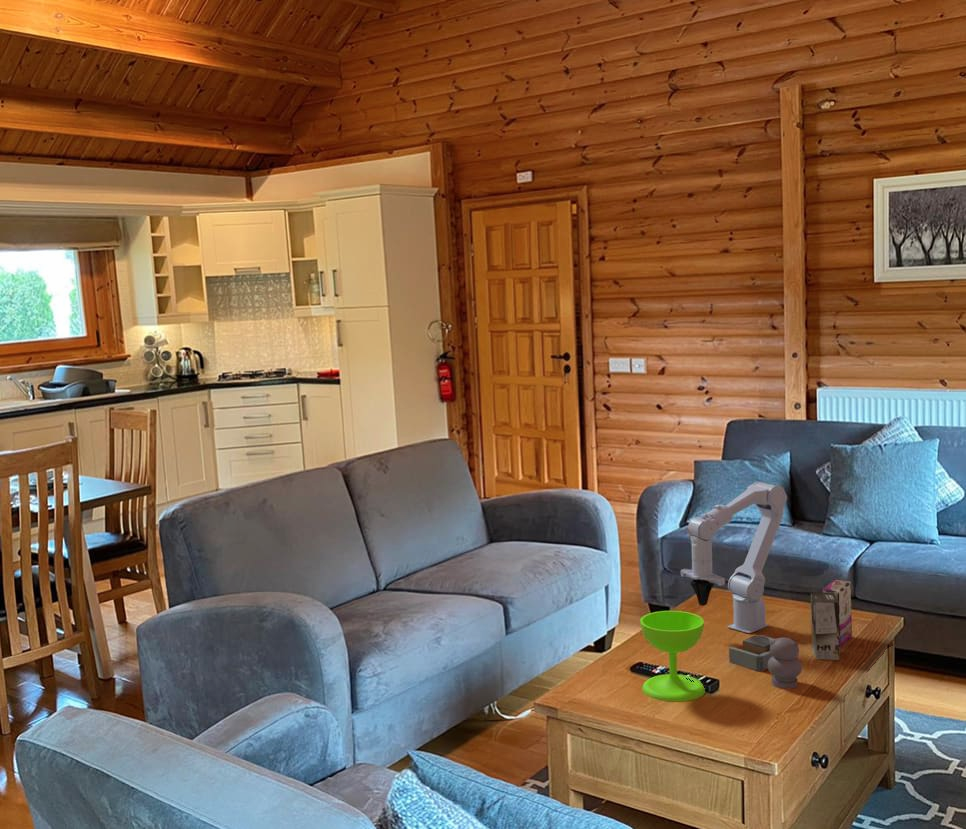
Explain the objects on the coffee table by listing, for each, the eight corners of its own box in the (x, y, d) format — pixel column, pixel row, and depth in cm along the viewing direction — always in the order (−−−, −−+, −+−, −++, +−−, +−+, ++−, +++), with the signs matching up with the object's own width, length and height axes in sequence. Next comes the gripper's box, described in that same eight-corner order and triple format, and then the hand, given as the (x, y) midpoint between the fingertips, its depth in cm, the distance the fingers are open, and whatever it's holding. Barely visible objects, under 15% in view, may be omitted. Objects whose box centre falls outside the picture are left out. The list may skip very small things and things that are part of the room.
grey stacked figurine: (805, 680, 248) (805, 635, 247) (798, 692, 242) (798, 645, 240) (772, 675, 253) (771, 631, 251) (764, 686, 246) (763, 641, 245)
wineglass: (630, 683, 252) (628, 616, 250) (683, 672, 258) (681, 607, 256) (663, 706, 237) (660, 635, 235) (718, 694, 243) (716, 624, 241)
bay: (760, 648, 272) (760, 634, 272) (791, 657, 265) (791, 643, 264) (729, 662, 263) (728, 647, 263) (760, 671, 256) (760, 657, 255)
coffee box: (840, 660, 261) (839, 602, 259) (815, 659, 262) (814, 602, 260) (835, 648, 270) (834, 592, 268) (810, 647, 271) (810, 591, 269)
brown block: (755, 654, 269) (754, 635, 268) (776, 660, 263) (776, 641, 262) (742, 659, 265) (742, 640, 265) (764, 666, 260) (764, 646, 259)
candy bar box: (834, 633, 281) (834, 578, 279) (852, 636, 278) (852, 581, 276) (822, 645, 272) (821, 589, 270) (840, 648, 269) (839, 591, 267)
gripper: (673, 557, 284) (674, 602, 285) (713, 566, 272) (714, 613, 274) (688, 552, 288) (690, 597, 290) (729, 561, 277) (730, 607, 278)
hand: (703, 604), depth 282 cm, fingers closed
